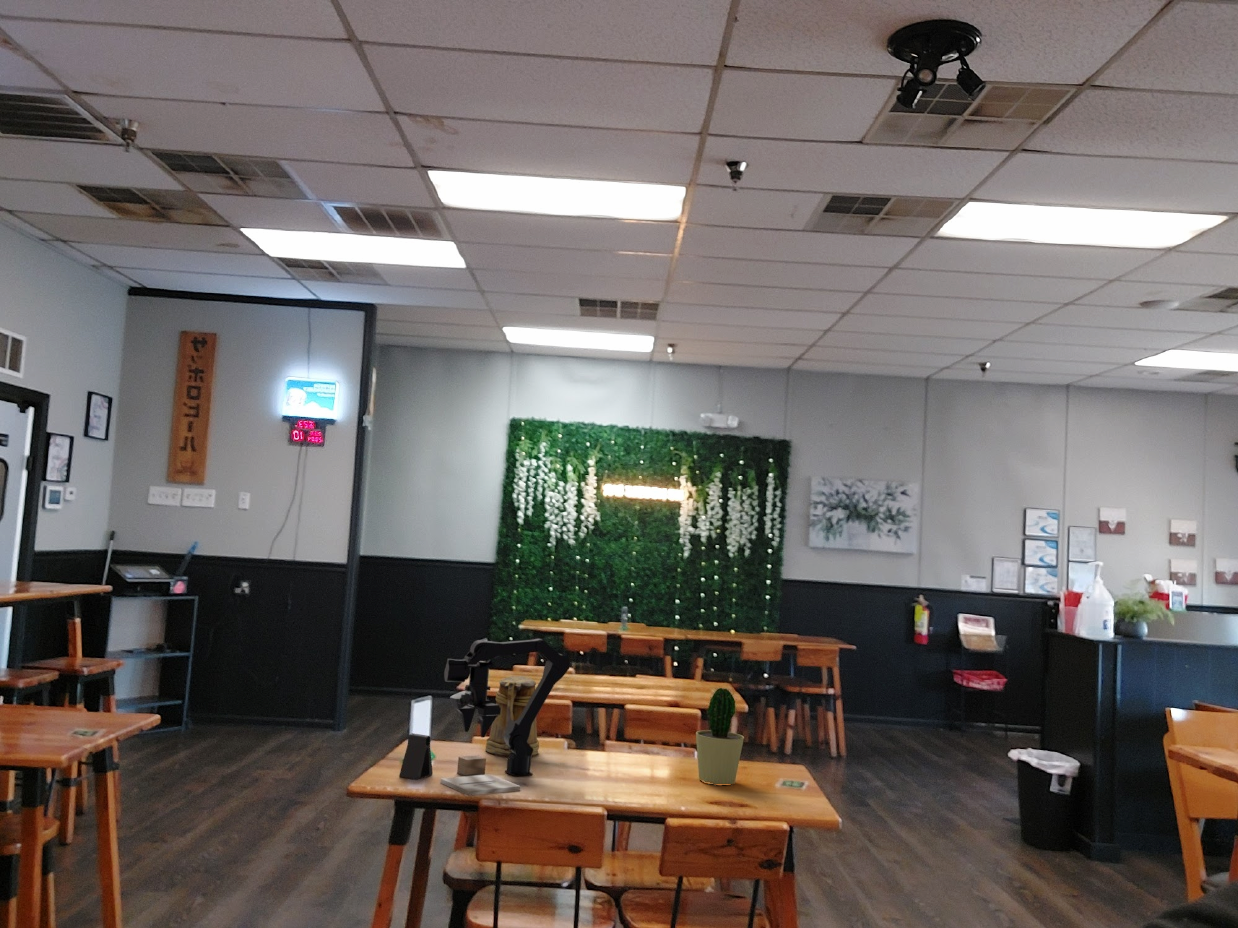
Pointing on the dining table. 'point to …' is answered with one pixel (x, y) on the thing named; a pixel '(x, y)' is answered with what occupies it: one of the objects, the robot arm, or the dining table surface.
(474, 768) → the block
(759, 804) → the dining table surface
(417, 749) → the phone stand
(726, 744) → the potted cactus
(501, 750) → the tankard
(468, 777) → the board
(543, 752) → the dining table surface
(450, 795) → the dining table surface
